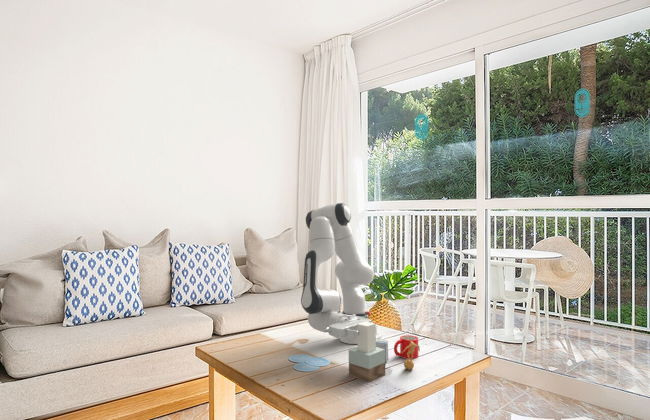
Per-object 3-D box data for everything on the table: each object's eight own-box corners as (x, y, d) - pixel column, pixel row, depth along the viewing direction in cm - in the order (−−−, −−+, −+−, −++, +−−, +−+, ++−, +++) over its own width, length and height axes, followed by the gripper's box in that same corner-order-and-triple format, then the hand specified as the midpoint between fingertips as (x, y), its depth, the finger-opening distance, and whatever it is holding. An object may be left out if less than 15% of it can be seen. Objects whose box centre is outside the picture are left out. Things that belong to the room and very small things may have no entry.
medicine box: (388, 360, 181) (388, 340, 181) (386, 363, 177) (386, 342, 177) (370, 358, 183) (370, 338, 184) (367, 361, 179) (367, 341, 179)
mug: (389, 356, 186) (388, 338, 186) (410, 351, 192) (410, 334, 192) (400, 361, 179) (400, 342, 180) (422, 356, 185) (422, 338, 185)
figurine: (414, 366, 173) (414, 336, 173) (423, 371, 168) (423, 340, 168) (397, 369, 170) (397, 339, 170) (405, 374, 164) (405, 343, 165)
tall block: (365, 347, 168) (365, 321, 168) (375, 349, 164) (375, 323, 164) (357, 349, 164) (357, 324, 164) (367, 352, 161) (367, 326, 161)
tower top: (364, 356, 171) (364, 344, 171) (385, 362, 164) (384, 349, 165) (348, 362, 164) (348, 349, 164) (369, 369, 157) (369, 355, 157)
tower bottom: (365, 369, 171) (365, 356, 171) (385, 375, 164) (385, 362, 164) (348, 375, 164) (348, 362, 164) (369, 382, 157) (368, 369, 157)
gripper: (321, 321, 167) (348, 328, 157) (355, 313, 181) (381, 318, 172) (321, 337, 167) (348, 345, 157) (355, 327, 181) (381, 333, 172)
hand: (366, 331), depth 164 cm, fingers open, 8 cm apart
